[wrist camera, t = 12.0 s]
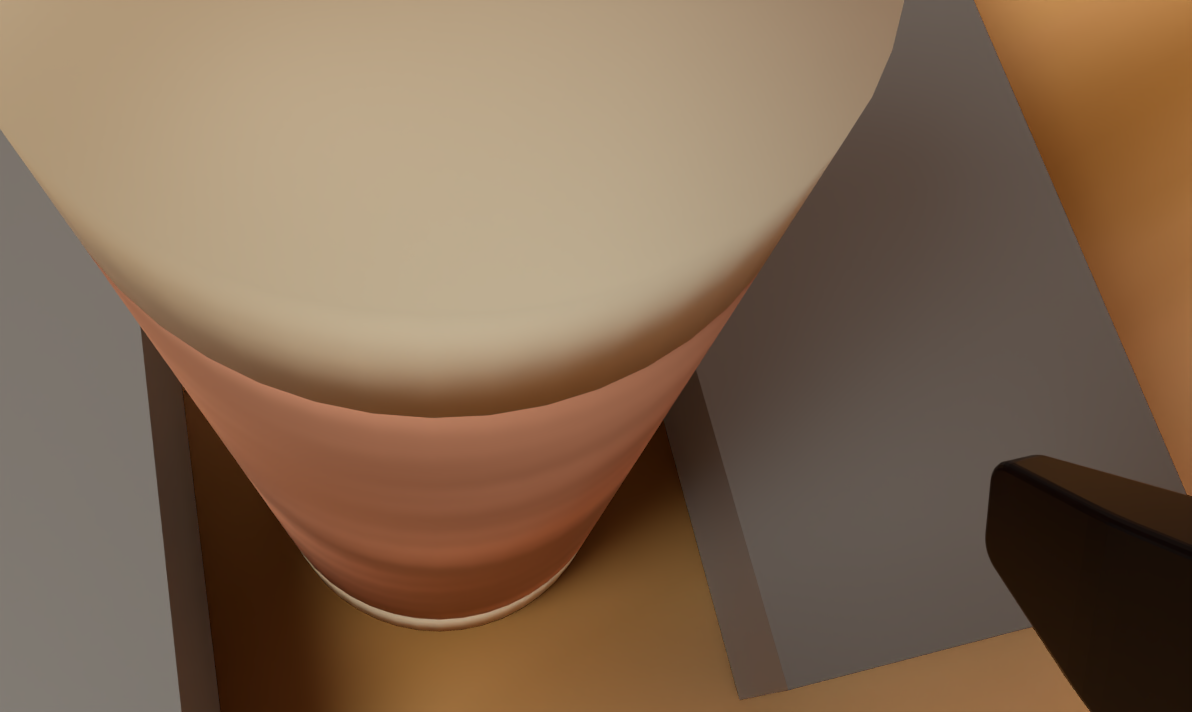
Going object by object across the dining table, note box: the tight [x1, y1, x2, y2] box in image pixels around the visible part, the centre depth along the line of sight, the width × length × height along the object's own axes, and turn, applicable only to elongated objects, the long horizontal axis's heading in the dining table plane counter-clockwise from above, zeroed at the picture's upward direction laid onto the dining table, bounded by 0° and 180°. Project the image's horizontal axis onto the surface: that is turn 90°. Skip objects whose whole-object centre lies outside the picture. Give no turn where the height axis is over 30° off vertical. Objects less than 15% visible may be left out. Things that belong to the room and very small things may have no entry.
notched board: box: [0, 0, 1187, 712], centre depth 17 cm, size 15×21×2 cm
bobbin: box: [0, 0, 904, 631], centre depth 11 cm, size 5×5×12 cm
